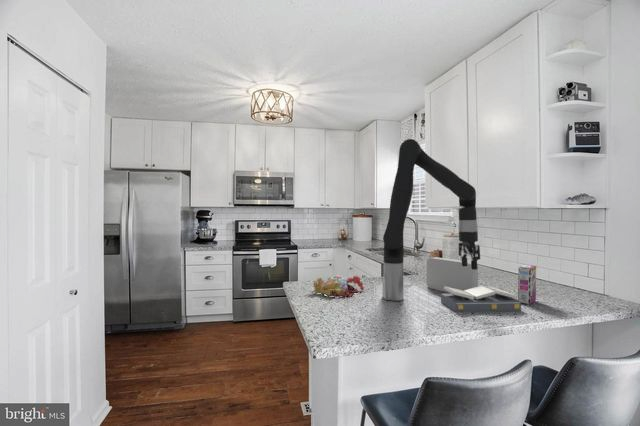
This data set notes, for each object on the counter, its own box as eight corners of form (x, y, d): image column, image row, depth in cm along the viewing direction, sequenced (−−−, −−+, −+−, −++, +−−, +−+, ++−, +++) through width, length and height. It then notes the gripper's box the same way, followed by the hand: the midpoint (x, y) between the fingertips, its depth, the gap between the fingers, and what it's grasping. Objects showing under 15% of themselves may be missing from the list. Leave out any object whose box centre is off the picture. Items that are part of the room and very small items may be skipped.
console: (455, 311, 132) (455, 299, 132) (440, 302, 146) (440, 291, 146) (521, 311, 133) (521, 298, 133) (500, 301, 147) (500, 290, 147)
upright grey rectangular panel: (480, 296, 156) (480, 262, 156) (472, 298, 153) (472, 263, 153) (434, 286, 179) (434, 256, 179) (426, 287, 175) (426, 257, 175)
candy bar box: (530, 305, 141) (530, 268, 141) (517, 303, 145) (517, 267, 145) (536, 300, 149) (536, 265, 149) (524, 298, 152) (524, 264, 152)
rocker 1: (454, 294, 134) (455, 291, 134) (443, 288, 144) (444, 286, 144) (473, 299, 134) (474, 296, 134) (461, 293, 145) (462, 290, 145)
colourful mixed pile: (347, 302, 148) (347, 282, 148) (305, 295, 160) (305, 277, 160) (368, 291, 169) (368, 274, 169) (329, 286, 182) (329, 269, 182)
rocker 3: (498, 293, 135) (499, 291, 135) (484, 288, 145) (485, 285, 145) (517, 298, 135) (517, 296, 135) (501, 292, 145) (502, 290, 145)
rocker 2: (476, 299, 134) (476, 296, 134) (464, 293, 145) (463, 290, 145) (495, 294, 134) (494, 291, 134) (481, 288, 145) (481, 285, 145)
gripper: (452, 230, 146) (453, 265, 146) (467, 231, 132) (468, 270, 132) (468, 229, 146) (469, 265, 146) (485, 231, 132) (486, 270, 132)
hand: (469, 267), depth 139 cm, fingers open, 8 cm apart
